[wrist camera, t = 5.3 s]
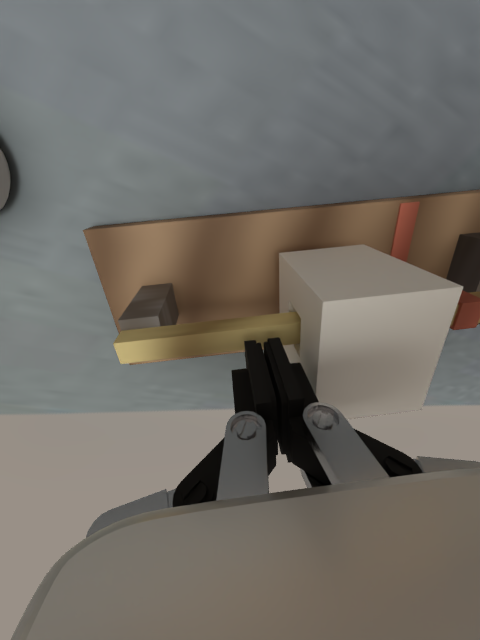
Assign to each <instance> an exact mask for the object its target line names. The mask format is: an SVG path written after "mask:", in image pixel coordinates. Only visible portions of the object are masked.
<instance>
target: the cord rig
mask: <svg viewBox="0 0 480 640" xmlns="http://www.w3.org/2000/svg"><path fill="white" fill-rule="evenodd" d="M83 232H84V234H85V237H86V240H87V243H88V246H89V249H90V252H91V255H92V257H93V260H94V263H95V266H96V269H97V272H98V275H99V278H100V281H101V283H102V286H103V289H104V292H105V295H106V298H107V301H108V304H109V306H110V309H111V312H112V315H113V318H114V321H115V324H116V327H117V330H118V332H119V335H118V337H117V338H116V340H115V342H114V343H113V344H114V347H115V350H116V352H117V355H118V358H119V361H120V363H121V364H125V363H129V364H130V365H133V364H142V363H151V362H160V361H168V360H177V359H186V358H194V357H203V356H212V355H221V354H229V353H238V352H245V345H244V341H250V340H256V343H261V346H262V350H264V342H267V340H268V338H277V337H279V338H280V340H281V342H282V345H291V344H300V333H301V318H300V316H299V315H298V313H297V312H288V313H280V309H279V253H283V252H293V251H303V250H313V249H323V248H333V247H343V246H352V245H362V244H364V245H366V246H369V247H371V248H373V249H376V250H378V251H380V252H383V253H385V254H387V255H390V256H392V257H395V258H397V259H399V260H402V261H404V262H406V263H409V264H411V265H414V266H416V267H418V268H421V269H423V270H425V271H428V272H430V273H432V274H435V275H437V276H440V277H442V278H444V279H447V280H449V281H451V282H454V283H456V284H458V285H461V286H463V290H462V293H461V296H460V299H459V302H458V304H457V307H456V310H455V313H454V316H453V319H452V322H451V325H450V328H451V329H453V330H458V329H467V328H475V327H476V326H477V325H478V324H480V190H471V191H461V192H450V193H440V194H429V195H419V196H408V197H398V198H387V199H377V200H366V201H356V202H345V203H335V204H324V205H313V206H303V207H292V208H282V209H271V210H261V211H250V212H240V213H229V214H219V215H208V216H198V217H187V218H177V219H166V220H155V221H145V222H134V223H124V224H113V225H103V226H93V227H90V228H88V229H85V230H83Z"/></svg>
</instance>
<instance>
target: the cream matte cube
mask: <svg viewBox="0 0 480 640" xmlns="http://www.w3.org/2000/svg"><path fill="white" fill-rule="evenodd" d="M462 290H463V286H461V285H458V284H456V283H454V282H451V281H449V280H447V279H444V278H442V277H440V276H437V275H435V274H432V273H430V272H428V271H425V270H423V269H421V268H418V267H416V266H414V265H411V264H409V263H406V262H404V261H402V260H399V259H397V258H395V257H392V256H390V255H387V254H385V253H383V252H380V251H378V250H376V249H373V248H371V247H369V246H366V245H364V244H362V245H352V246H343V247H333V248H323V249H313V250H303V251H293V252H283V253H279V309H280V313H288V312H297V313H298V315H299V316H300V318H301V333H300V344H291V345H283V347H284V350H285V352H286V354H287V357H288V359H289V362H290V363H301V365H302V367H303V369H304V371H305V374H306V376H307V378H308V380H309V382H310V384H311V386H312V388H313V391H314V393H315V395H316V397H317V399H318V401H319V402H323V403H327V404H330V405H332V406H334V407H336V408H337V409H338V410H339V411H340V412H341V413H342V414H343V416H344V417H345V418H346V419H352V418H362V417H369V416H378V415H386V414H393V413H401V412H408V411H417V410H421V409H422V407H423V404H424V401H425V398H426V395H427V392H428V389H429V386H430V383H431V380H432V377H433V374H434V372H435V369H436V366H437V363H438V360H439V357H440V354H441V351H442V348H443V345H444V342H445V339H446V337H447V334H448V331H449V328H450V325H451V322H452V319H453V316H454V313H455V310H456V307H457V304H458V302H459V299H460V296H461V293H462Z"/></svg>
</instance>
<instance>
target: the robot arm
mask: <svg viewBox="0 0 480 640" xmlns="http://www.w3.org/2000/svg"><path fill="white" fill-rule="evenodd" d="M244 345H245V357H246V369H238V370H232V381H233V393H234V404H235V415H233V416H232V417H231V418H230V419H229V421H228V423H227V426H226V432H225V437H224V438H223V440H222V441H221V442H220V443H219V444H218V445H217V446H216V447H215V448H214V449H213V450H212V451H211V452H210V453H209V454H208V455H207V456H206V457H205V458H204V459H203V460H202V461H201V462H200V463H199V464H198V465H197V466H196V467H195V468H194V469H193V470H192V471H191V472H190V473H189V474H188V475H187V476H186V477H185V478H184V479H183V481H181V483H180V484H179V485H178V486H177V488H176V489H174V490H171V491H168V492H167V491H166V489H165V490H162V491H160V492H157V493H154V494H152V495H149V496H147V497H143V498H141V499H138V500H135V501H133V502H130V503H127V504H125V505H122V506H119V507H117V508H114V509H111V510H109V511H107V512H105V513H103V514H102V515H101V516H99V517H98V518H97V519H96V520H95V521H94V523H93V524H92V526H91V527H90V529H89V531H88V533H87V536H86V538H85V539H84V540H82V541H81V542H80V543H78V544H77V545H76V546H74V547H73V548H71V549H70V550H69V551H68V552H66V553H65V554H64V555H63V556H62V557H61V558H60V559H59V560H58V561H57V562H56V563H55V564H54V566H53V567H52V568H51V569H50V571H49V572H48V573H47V574H46V576H45V577H44V579H43V581H42V582H41V584H40V585H39V587H38V589H37V590H36V592H35V594H34V595H33V597H32V599H31V601H30V603H29V604H28V606H27V608H26V610H25V612H24V614H23V616H22V618H21V620H20V622H19V624H18V626H17V628H16V630H15V632H14V634H13V636H12V638H11V640H480V462H476V461H465V460H454V459H442V458H431V457H420V456H417V458H416V459H411V457H409V456H407V455H406V454H404V453H402V452H400V451H398V450H396V449H394V448H392V447H390V446H388V445H386V444H384V443H382V442H380V441H378V440H376V439H374V438H372V437H370V436H368V435H366V434H364V433H361V432H360V431H357V430H355V429H353V428H352V426H351V425H350V424H349V423H348V421H347V420H346V418H345V417H344V416H343V414H342V413H341V412H340V411H339V410H338V409H337V408H336V407H334V406H332V405H330V404H327V403H323V402H319V401H318V399H317V397H316V395H315V393H314V391H313V388H312V386H311V384H310V382H309V380H308V378H307V376H306V374H305V371H304V369H303V367H302V365H301V363H290V362H289V359H288V357H287V354H286V352H285V350H284V347H283V345H282V342H281V340H280V338H279V337H277V338H268V340H267V342H264V353H263V350H262V346H261V343H256V340H250V341H244ZM278 443H279V446H280V451H281V454H286V456H287V460H288V462H292V463H293V464H294V465H296V466H298V467H299V468H300V470H301V474H302V477H303V479H304V481H305V484H306V486H307V488H305V489H298V490H291V491H283V492H276V493H269V484H268V483H269V482H268V476H269V474H270V473H271V472H272V470H273V469H274V467H275V466H276V455H278Z"/></svg>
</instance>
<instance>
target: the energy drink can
mask: <svg viewBox="0 0 480 640" xmlns="http://www.w3.org/2000/svg"><path fill="white" fill-rule="evenodd" d="M10 183H11V180H10V171H9V166H8V163H7V161H6V158H5V156H4V154H3V152H2V150H1V149H0V210H1V209H2V208H3V207H4V205H5V203H6V201H7V199H8V195H9V190H10Z"/></svg>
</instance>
